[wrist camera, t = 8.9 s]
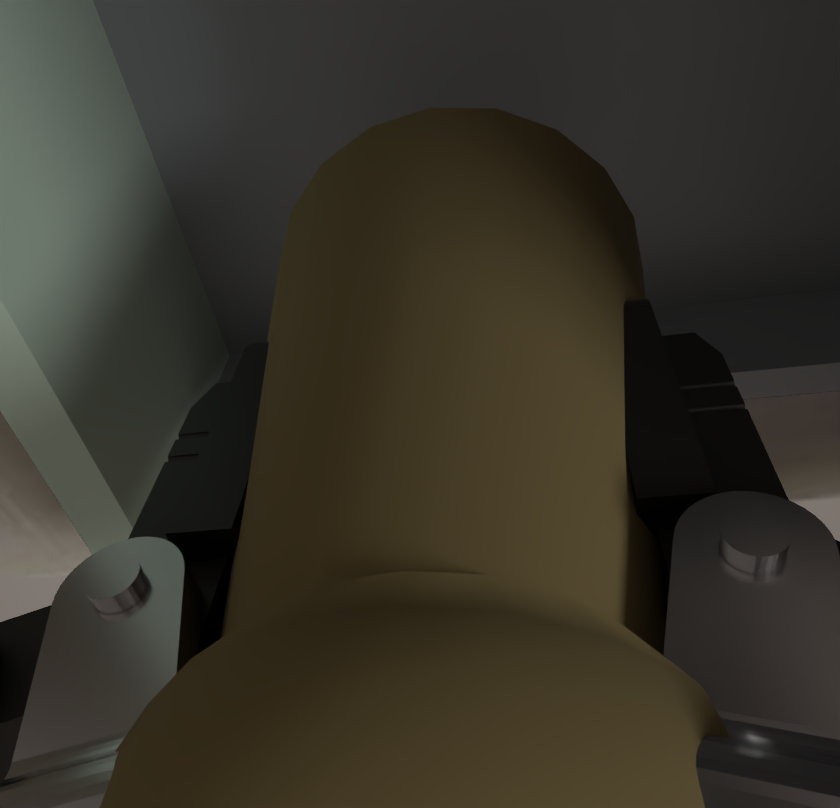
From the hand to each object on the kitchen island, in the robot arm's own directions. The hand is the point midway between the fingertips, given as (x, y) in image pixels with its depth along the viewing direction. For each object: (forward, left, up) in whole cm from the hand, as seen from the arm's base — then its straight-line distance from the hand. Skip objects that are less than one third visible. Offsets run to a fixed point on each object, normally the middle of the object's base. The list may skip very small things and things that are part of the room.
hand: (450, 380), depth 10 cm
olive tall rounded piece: (0, 0, -3) cm, 3 cm away
